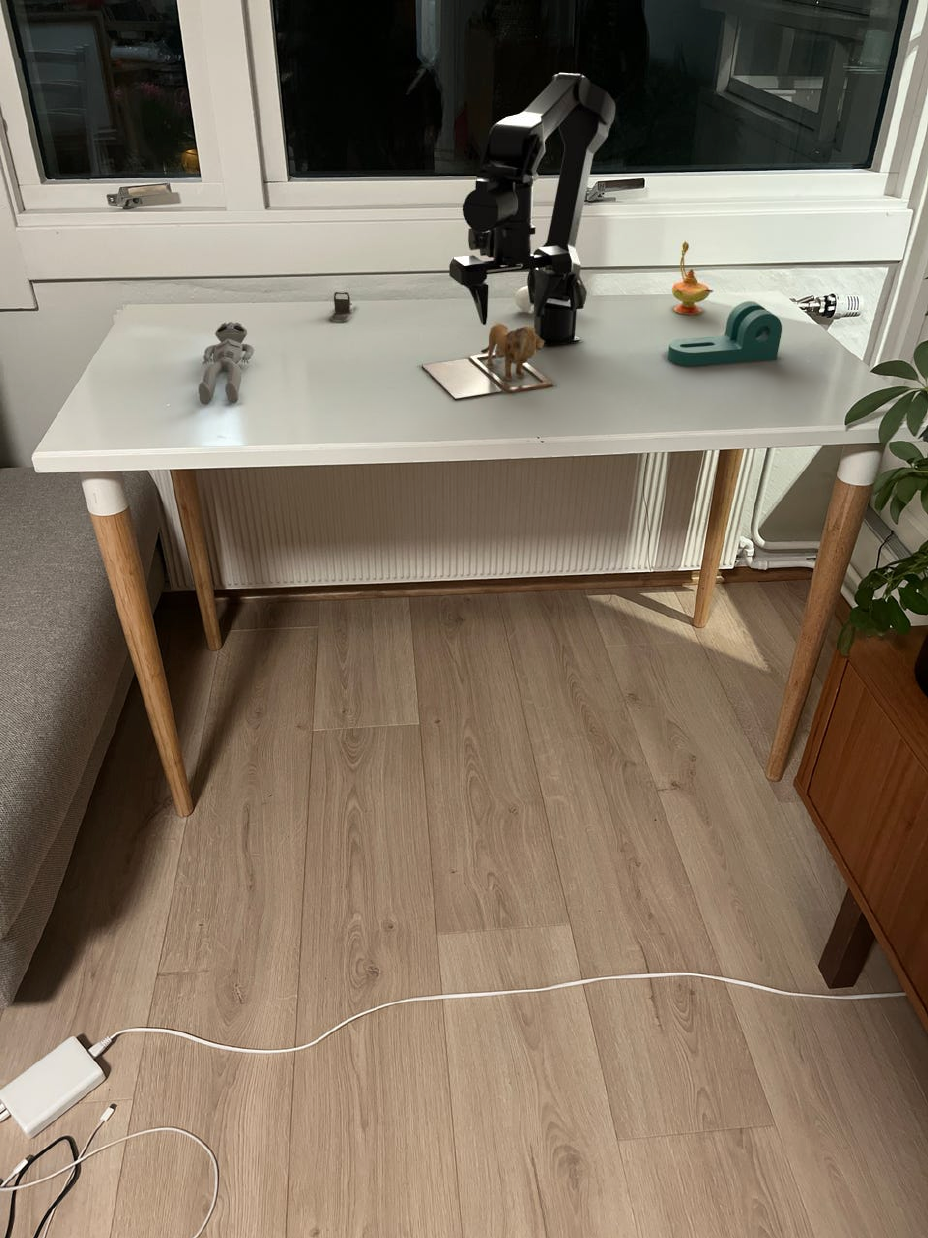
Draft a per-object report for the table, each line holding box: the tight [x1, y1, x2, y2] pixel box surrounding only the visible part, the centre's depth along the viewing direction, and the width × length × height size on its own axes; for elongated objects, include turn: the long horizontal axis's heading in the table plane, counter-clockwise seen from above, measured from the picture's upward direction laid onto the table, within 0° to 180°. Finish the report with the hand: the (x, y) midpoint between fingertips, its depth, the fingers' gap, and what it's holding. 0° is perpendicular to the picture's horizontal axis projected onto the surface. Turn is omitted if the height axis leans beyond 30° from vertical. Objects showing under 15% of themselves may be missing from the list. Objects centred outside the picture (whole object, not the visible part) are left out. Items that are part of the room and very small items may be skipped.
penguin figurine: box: [514, 285, 534, 314], centre depth 180 cm, size 6×8×12 cm
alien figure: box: [198, 321, 255, 405], centre depth 156 cm, size 8×5×25 cm
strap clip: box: [331, 291, 355, 322], centre depth 180 cm, size 8×3×4 cm, turn 174°
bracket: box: [667, 300, 783, 367], centre depth 162 cm, size 18×7×8 cm, turn 102°
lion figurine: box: [480, 322, 545, 382], centre depth 156 cm, size 15×5×9 cm, turn 33°
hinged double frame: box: [421, 352, 554, 401], centre depth 157 cm, size 16×16×1 cm
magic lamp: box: [671, 240, 714, 316], centre depth 179 cm, size 7×18×11 cm, turn 7°
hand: (510, 320), depth 153 cm, fingers open, 9 cm apart
